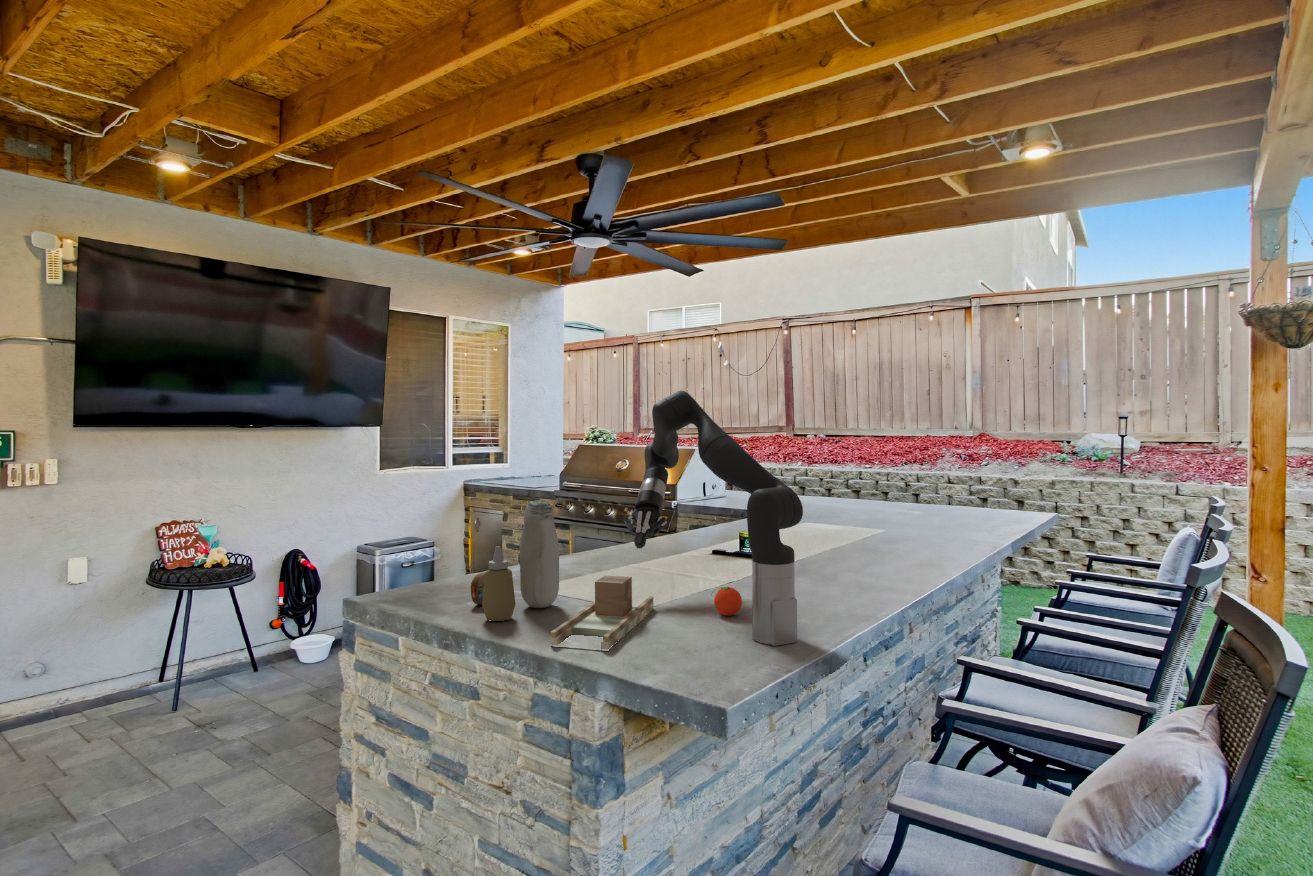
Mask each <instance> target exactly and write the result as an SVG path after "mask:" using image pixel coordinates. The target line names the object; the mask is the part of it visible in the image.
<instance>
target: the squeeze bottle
mask: <svg viewBox="0 0 1313 876" xmlns="http://www.w3.org/2000/svg"><path fill="white" fill-rule="evenodd" d="M484 572H485V571H484ZM514 588H515V587H514V578H513V571H512V569H510V568H509V560H507V559H504V556H503V551H502V547H501V546H500V545H496V546H495V549H494V553H493V558H492V560H489V561H488V570H486V572H485V578H484V590H483V602H482V605H481V607H482V609H483V613H484V616H485V618H486V620H487V621H488V620H491V621H503V622H505V621H504V620H507V621H509V619H510V620H511V619H512V616H513V613H514V610H515V607H516V604H517V603H516V596H515V589H514Z"/></svg>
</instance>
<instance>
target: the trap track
mask: <svg viewBox="0 0 1313 876" xmlns="http://www.w3.org/2000/svg"><path fill="white" fill-rule="evenodd" d="M653 610H654V596H649V597H647V598H646V599H645V600H643V602H641V603H640V604H639V605H638V606H632V610H631V611H629V612H628V613H627V614H626V615H625V616H624V617H615V616H601V615H595V601H593V602H592V603H590V604H589V605H588V606H586V607H585V608H583V609H582V610H580V611H579V612H577V613H576V614H574V615H573V616H572V617H570V618H569V619H568V620H566V621H565V622H563V623H562V624H560V625H559V626H557V627H556V628H555V629H552V630H551V631H550V646H551V645H558V644H560V643H561V642H563V641H564V640H565V639H566V638H568V637H569V636H571V635H584V636H598V637H603V640H602V641H601V649H609V648H610V647H611V646H612V645H614V644H615V643H616V642H618V640H620V639H621V638H622V637H623V636H624V635H625V636H627V634H628V631H630V630H631V629H632V628H633V629H634V628H635V627H636V626H637V625H638V624H639V623H640V622H641V621H642V620H644V617H645V618H646V617H647V616H648V615H649V614H651V612H652V611H653ZM646 615H647V616H646ZM634 626H635V627H634ZM633 629H632V630H633ZM632 630H631V631H632ZM631 631H630V632H631ZM626 633H627V634H626ZM625 636H624V637H625ZM624 637H623V638H624ZM623 638H622V639H623ZM622 639H621V640H622ZM621 640H620V641H621ZM618 643H619V642H618Z"/></svg>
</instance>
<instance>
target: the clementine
mask: <svg viewBox="0 0 1313 876" xmlns="http://www.w3.org/2000/svg"><path fill="white" fill-rule="evenodd" d="M715 590H718V591H717V592H716V593H715V596H714V599H713V602H714V603H713V604H714V607H715V609H716V610H717V612H718V613H719V614H721V615H723V616H727V617H729V616H734V615H736V614H738V613H739V611H740V610H741V609H742V605H743V599H742V596H741V593H740V592H739V591H738V590H737V589H736V588H734V587H730V586H721V587H717V589H716V588H715V589H714V590H713V591H712V592H711V595H710V596H712V594H713V593H714V592H715Z"/></svg>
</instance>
